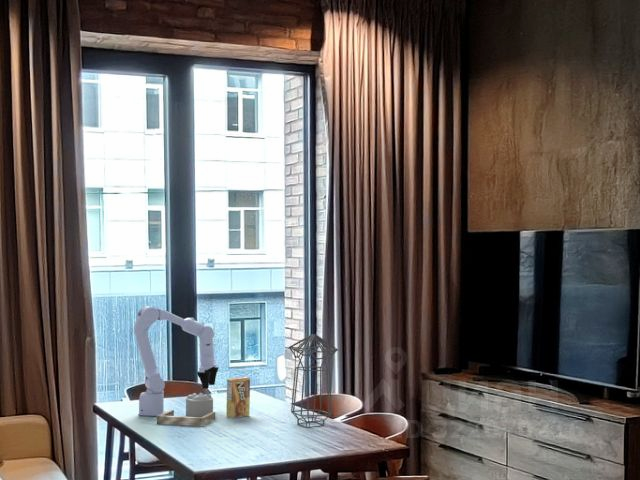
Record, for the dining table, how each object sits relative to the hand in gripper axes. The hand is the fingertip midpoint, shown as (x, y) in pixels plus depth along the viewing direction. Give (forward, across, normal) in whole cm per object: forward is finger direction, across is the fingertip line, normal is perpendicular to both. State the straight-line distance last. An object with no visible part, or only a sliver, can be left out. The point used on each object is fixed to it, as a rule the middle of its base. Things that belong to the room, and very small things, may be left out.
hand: (208, 386), depth 365 cm
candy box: (+11, -9, -15) cm, 21 cm away
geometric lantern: (+12, -18, -48) cm, 53 cm away
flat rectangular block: (+9, -24, +1) cm, 26 cm away
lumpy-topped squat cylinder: (+10, -11, +1) cm, 15 cm away
